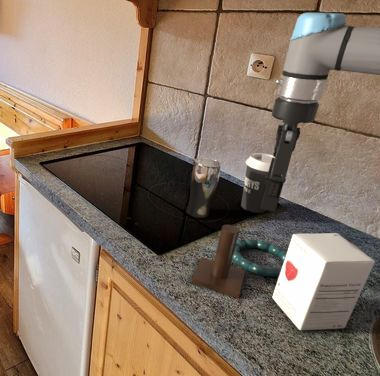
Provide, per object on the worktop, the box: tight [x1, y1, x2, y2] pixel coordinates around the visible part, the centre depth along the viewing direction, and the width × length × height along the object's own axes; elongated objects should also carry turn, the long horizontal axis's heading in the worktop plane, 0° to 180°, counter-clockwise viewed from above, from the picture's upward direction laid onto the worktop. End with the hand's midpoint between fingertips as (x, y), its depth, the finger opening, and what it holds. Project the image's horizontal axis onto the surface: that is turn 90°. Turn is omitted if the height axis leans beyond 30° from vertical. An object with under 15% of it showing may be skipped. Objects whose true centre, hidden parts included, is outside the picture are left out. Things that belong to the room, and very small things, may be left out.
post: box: [191, 224, 246, 299], centre depth 82 cm, size 9×9×12 cm
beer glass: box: [185, 157, 222, 219], centre depth 108 cm, size 7×7×15 cm
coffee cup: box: [240, 152, 275, 214], centre depth 112 cm, size 10×10×15 cm
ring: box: [232, 238, 287, 278], centre depth 91 cm, size 13×13×2 cm
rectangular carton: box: [271, 232, 376, 331], centre depth 73 cm, size 9×9×15 cm
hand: (269, 197), depth 88 cm, fingers open, 13 cm apart
